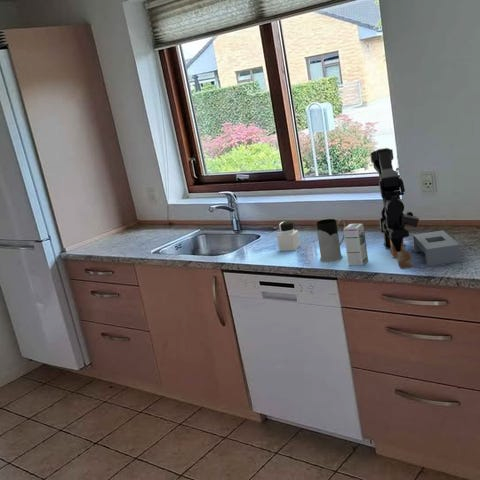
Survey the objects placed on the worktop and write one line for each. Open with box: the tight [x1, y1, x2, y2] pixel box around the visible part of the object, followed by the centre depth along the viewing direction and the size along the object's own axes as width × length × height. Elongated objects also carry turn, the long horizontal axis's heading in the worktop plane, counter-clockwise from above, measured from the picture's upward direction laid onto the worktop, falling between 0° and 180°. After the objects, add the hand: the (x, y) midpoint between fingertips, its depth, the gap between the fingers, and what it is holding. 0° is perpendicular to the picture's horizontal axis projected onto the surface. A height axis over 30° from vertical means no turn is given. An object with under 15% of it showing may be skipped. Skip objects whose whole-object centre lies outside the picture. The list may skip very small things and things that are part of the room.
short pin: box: [397, 249, 413, 270], centre depth 197 cm, size 4×4×5 cm
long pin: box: [389, 234, 405, 259], centre depth 209 cm, size 4×4×9 cm
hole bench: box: [412, 230, 462, 267], centre depth 202 cm, size 11×20×6 cm, turn 176°
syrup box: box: [343, 222, 369, 266], centre depth 208 cm, size 6×6×14 cm
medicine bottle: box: [276, 220, 301, 252], centre depth 243 cm, size 7×7×12 cm
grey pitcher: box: [316, 218, 347, 263], centre depth 220 cm, size 9×14×15 cm, turn 126°
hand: (397, 250), depth 210 cm, fingers closed on long pin, 4 cm apart
